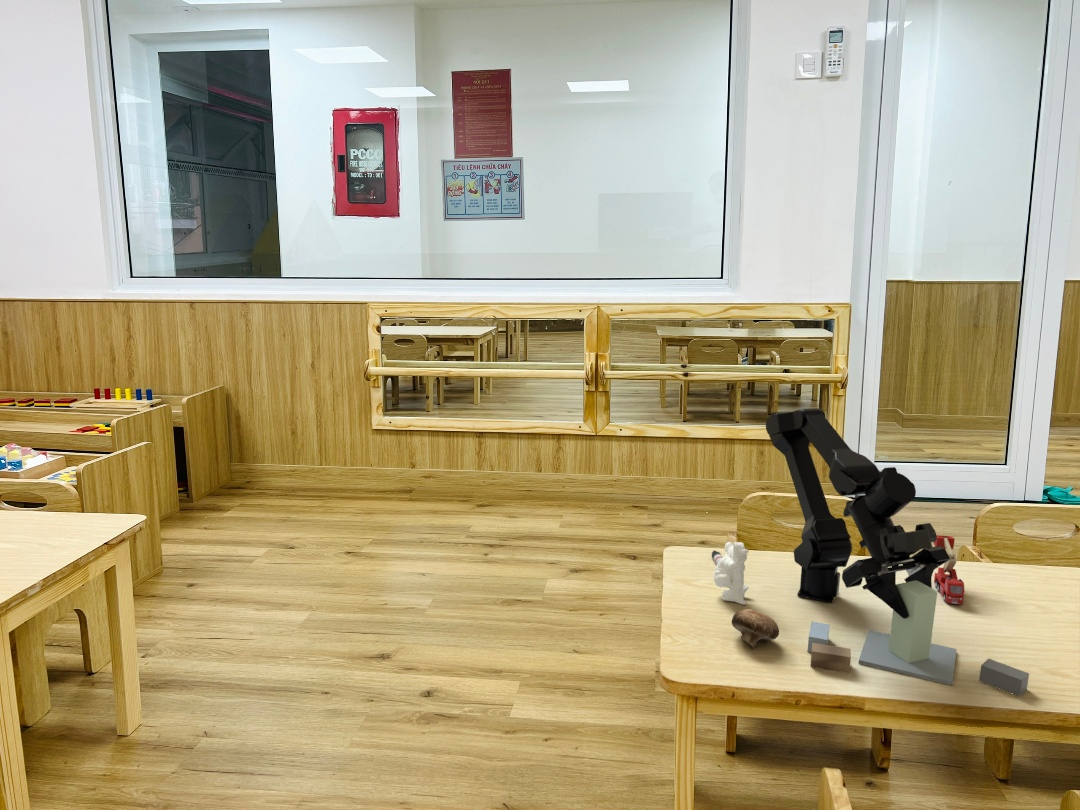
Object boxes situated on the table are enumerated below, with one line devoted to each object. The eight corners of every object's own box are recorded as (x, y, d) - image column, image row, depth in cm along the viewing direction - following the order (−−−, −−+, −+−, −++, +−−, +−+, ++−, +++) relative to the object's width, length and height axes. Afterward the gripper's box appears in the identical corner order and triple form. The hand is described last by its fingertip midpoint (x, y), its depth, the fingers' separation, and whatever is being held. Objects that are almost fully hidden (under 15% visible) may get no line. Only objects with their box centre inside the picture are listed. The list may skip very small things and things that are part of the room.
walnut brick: (810, 667, 139) (811, 651, 138) (810, 659, 142) (812, 642, 141) (849, 674, 137) (850, 657, 136) (849, 665, 140) (850, 648, 139)
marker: (737, 585, 170) (737, 575, 170) (727, 585, 170) (728, 576, 170) (717, 555, 185) (718, 546, 185) (708, 555, 185) (709, 547, 185)
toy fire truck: (945, 605, 162) (951, 557, 159) (928, 576, 175) (933, 532, 173) (964, 607, 161) (970, 559, 159) (946, 577, 174) (951, 533, 172)
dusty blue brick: (825, 656, 143) (827, 639, 142) (807, 652, 144) (808, 636, 143) (828, 640, 148) (829, 624, 148) (810, 637, 149) (811, 621, 149)
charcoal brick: (978, 682, 135) (981, 664, 134) (986, 675, 137) (988, 658, 136) (1019, 697, 131) (1022, 680, 130) (1026, 690, 133) (1029, 673, 132)
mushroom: (746, 641, 140) (755, 604, 143) (717, 638, 147) (725, 603, 150) (783, 657, 143) (791, 621, 145) (752, 653, 150) (760, 619, 152)
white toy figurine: (757, 607, 160) (761, 547, 157) (722, 608, 159) (726, 548, 157) (742, 588, 168) (745, 530, 166) (708, 589, 167) (712, 532, 165)
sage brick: (888, 650, 143) (896, 584, 140) (908, 645, 145) (916, 580, 142) (908, 663, 139) (916, 595, 136) (928, 658, 141) (937, 591, 138)
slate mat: (858, 663, 140) (858, 659, 140) (868, 632, 150) (868, 629, 150) (952, 685, 134) (952, 681, 134) (956, 652, 144) (956, 648, 144)
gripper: (860, 514, 137) (905, 606, 129) (948, 501, 144) (995, 588, 136) (823, 543, 146) (863, 631, 138) (907, 529, 152) (950, 612, 145)
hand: (919, 615), depth 139 cm, fingers open, 5 cm apart
